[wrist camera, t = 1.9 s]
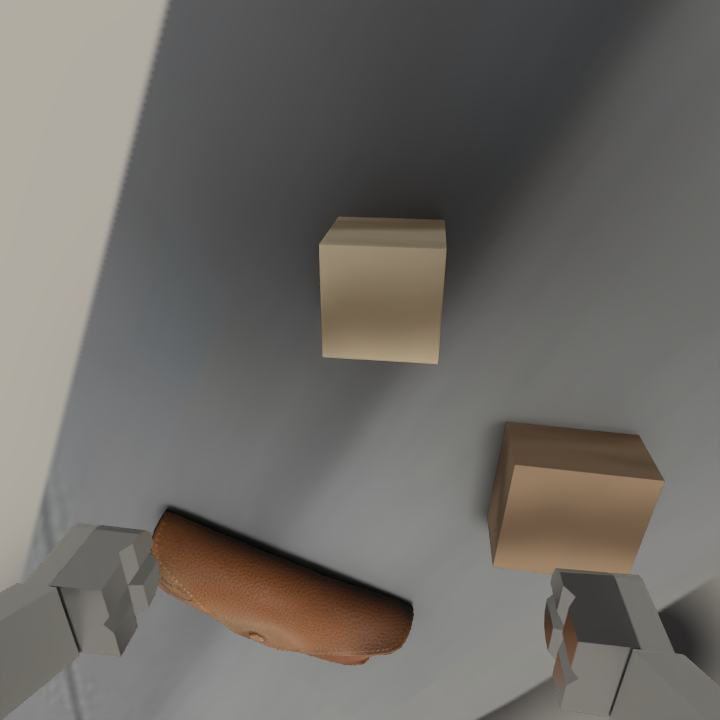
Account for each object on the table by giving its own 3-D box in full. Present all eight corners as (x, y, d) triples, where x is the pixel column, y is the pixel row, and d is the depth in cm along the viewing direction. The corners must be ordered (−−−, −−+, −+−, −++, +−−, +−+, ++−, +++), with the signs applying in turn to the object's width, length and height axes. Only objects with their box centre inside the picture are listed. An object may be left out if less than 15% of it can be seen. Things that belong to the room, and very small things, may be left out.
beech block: (338, 216, 26) (318, 244, 22) (444, 219, 25) (446, 248, 21) (340, 313, 28) (322, 357, 24) (437, 318, 28) (437, 363, 23)
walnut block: (505, 419, 30) (514, 464, 27) (637, 432, 29) (664, 481, 26) (486, 515, 33) (492, 566, 30) (605, 528, 33) (625, 583, 29)
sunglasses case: (141, 583, 40) (108, 626, 33) (181, 492, 40) (155, 517, 33) (369, 668, 41) (380, 726, 34) (404, 580, 41) (422, 620, 35)
